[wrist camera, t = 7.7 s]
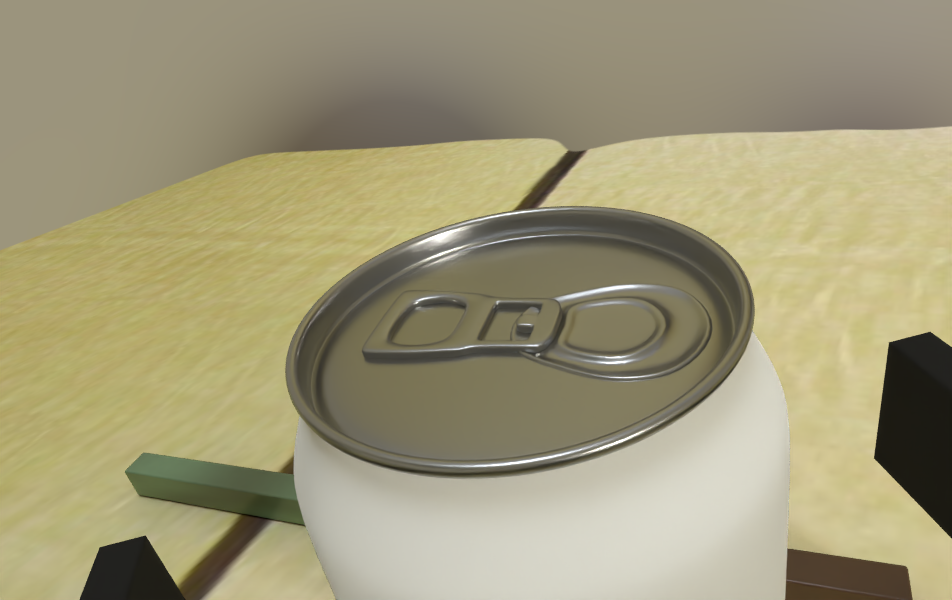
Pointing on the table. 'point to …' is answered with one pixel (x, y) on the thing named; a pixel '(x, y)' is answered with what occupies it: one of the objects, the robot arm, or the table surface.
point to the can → (543, 417)
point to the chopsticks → (274, 496)
